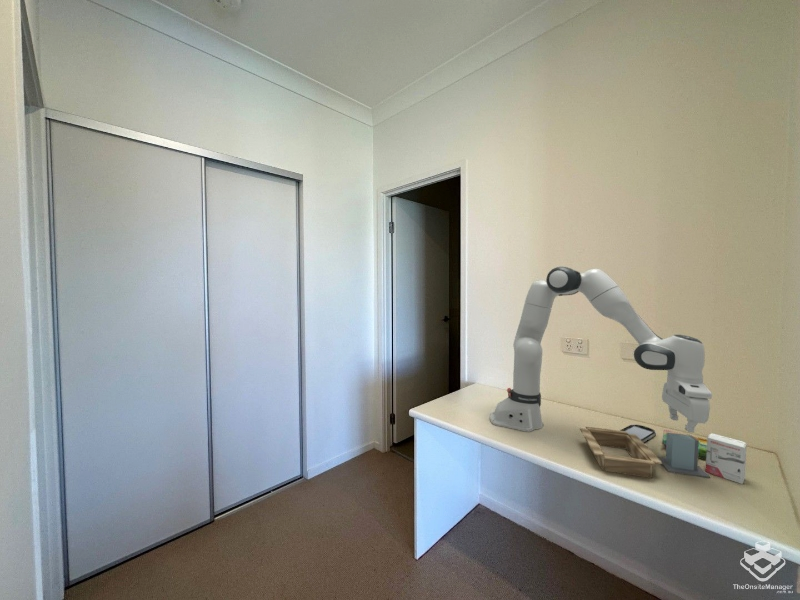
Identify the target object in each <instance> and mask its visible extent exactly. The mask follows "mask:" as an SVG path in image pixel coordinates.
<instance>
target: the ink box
mask: <svg viewBox="0 0 800 600" xmlns="http://www.w3.org/2000/svg"><path fill="white" fill-rule="evenodd" d="M706 439H707V453H706V460H705V472H706V473H707V474H710V475H715V476H717V477H720V478H723V479H726V480H728V481H731V482H735V483H738V484H744V483H745V477H746V461H747V459H746V458H747V442H745V441H742V440H739V439H735V438H730V437H728V436H723V435H720V434H717V433H709V434H708V435H707V437H706Z"/></svg>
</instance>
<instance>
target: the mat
mask: <svg viewBox="0 0 800 600" xmlns="http://www.w3.org/2000/svg"><path fill="white" fill-rule="evenodd" d="M656 457H657V458H658V459H659V460H660V461H661V462H662V464H660V465H661V466H662V467H663V468H664V469H665V470H666V471H667V472H668V473H671V474H676V475H677V474H678V475H686V476H691V477H692V476H693V477H698V478H704V479H705V478H706V479H711V476H710V475H709V473H708V472H706V470H704V469H702V468H701V467H700V466H699V465H698V471H695V470H688V469H680V468H673V467H671V466H670V465H669V464H668V463H667V462H666V457H663V456H656Z"/></svg>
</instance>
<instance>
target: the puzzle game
mask: <svg viewBox="0 0 800 600" xmlns="http://www.w3.org/2000/svg"><path fill="white" fill-rule="evenodd" d="M667 433H675V434H684V435H690V434H688V433H686V434H685V433H681V432H678V431H673V430H669V429H664V430H663V435H662V445H663V447H664V448H665V449H666V436H667ZM692 436H693V437H694V438H696V439H697V440H698V441H699V447H698V457H699V458H698V459H702V458H703V459H702V460H705V459H706V453H707V438H702V437H699V436H694V435H692Z"/></svg>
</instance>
